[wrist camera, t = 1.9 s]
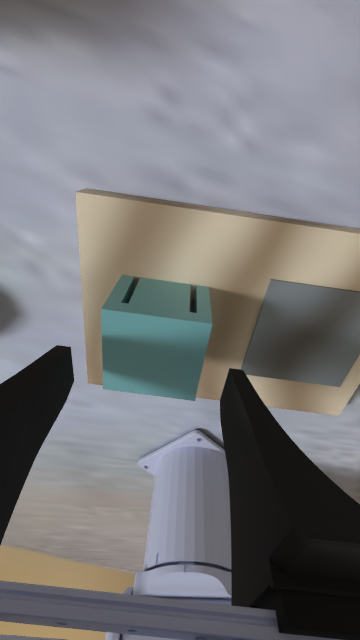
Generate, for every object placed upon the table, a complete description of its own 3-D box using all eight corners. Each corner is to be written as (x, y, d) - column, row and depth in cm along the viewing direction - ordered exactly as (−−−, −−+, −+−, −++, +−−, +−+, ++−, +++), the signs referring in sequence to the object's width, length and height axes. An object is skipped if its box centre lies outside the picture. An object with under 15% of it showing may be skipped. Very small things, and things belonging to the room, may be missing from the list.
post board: (428, 239, 15) (507, 268, 11) (330, 400, 22) (358, 452, 18) (85, 188, 15) (46, 200, 11) (94, 369, 21) (72, 416, 18)
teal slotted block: (208, 286, 16) (212, 324, 12) (194, 354, 18) (194, 400, 15) (121, 274, 15) (101, 308, 12) (120, 344, 18) (103, 388, 15)
